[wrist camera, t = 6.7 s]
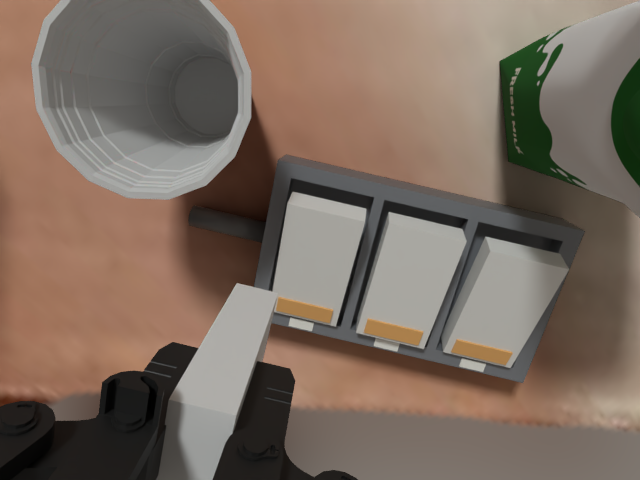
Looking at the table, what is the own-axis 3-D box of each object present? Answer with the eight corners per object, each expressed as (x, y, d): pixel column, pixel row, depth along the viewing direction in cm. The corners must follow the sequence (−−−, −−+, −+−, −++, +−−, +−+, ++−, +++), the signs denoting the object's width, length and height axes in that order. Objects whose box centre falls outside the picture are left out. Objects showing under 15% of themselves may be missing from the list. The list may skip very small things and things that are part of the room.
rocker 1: (274, 295, 35) (268, 311, 34) (292, 191, 30) (286, 204, 29) (338, 310, 35) (335, 328, 33) (366, 208, 30) (364, 222, 29)
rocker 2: (357, 317, 35) (355, 334, 33) (388, 211, 31) (389, 224, 29) (421, 333, 35) (423, 350, 33) (462, 229, 31) (467, 242, 29)
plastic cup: (315, 120, 34) (293, 129, 22) (197, 195, 36) (121, 239, 24) (231, -20, 31) (158, -92, 20) (112, 69, 34) (-16, 52, 22)
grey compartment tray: (186, 281, 38) (169, 299, 35) (207, 136, 34) (190, 140, 31) (508, 358, 38) (523, 383, 34) (562, 218, 34) (585, 231, 31)
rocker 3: (440, 335, 35) (443, 353, 33) (485, 236, 30) (490, 252, 29) (505, 350, 35) (511, 369, 33) (560, 253, 30) (570, 270, 29)
